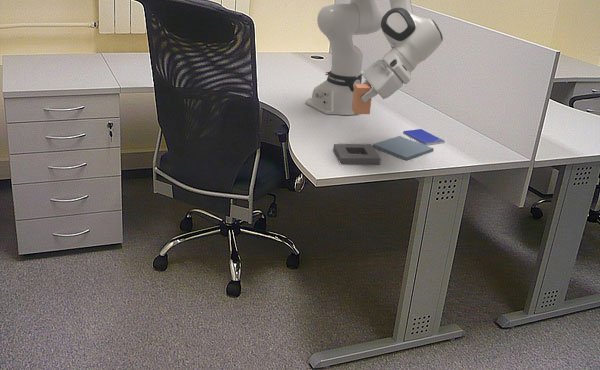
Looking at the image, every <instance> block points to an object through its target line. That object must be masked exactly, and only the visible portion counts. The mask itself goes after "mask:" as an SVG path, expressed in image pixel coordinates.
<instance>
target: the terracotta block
mask: <svg viewBox="0 0 600 370" xmlns="http://www.w3.org/2000/svg"><path fill="white" fill-rule="evenodd" d="M371 88H372V86H370V85H369V84H362V83H361V84H354V92H353V102H352V111H353V112H354V113H355V114H354V115H370V114H371V107H372V98H370V99H369V100H367V101H366V102H364V101H363V100H362V99H361V96H362V95H363V94H364V93H365V94H366V93H367V92H369V91H370V89H371Z"/></svg>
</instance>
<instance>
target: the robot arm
mask: <svg viewBox="0 0 600 370" xmlns="http://www.w3.org/2000/svg"><path fill="white" fill-rule="evenodd" d="M411 1H412V0H389V3H390V9H388V10H387V12H385V14H384V12H383V10H382V8H381V7H380V5H378V3H377V1H376V0H350V3H334V4H330V5H326V6H323V7H322V8H321V9H320V11H319V12H318V14H317V18H316V19H317V20H316V21H317V23H316V24H317V27H318V28H319V30H320V32H321V33H322V34H323V35H324V36H325V37H326V38H327V40H328V42H329V44H330V47H331V48H330V49H331V67H330V68H331V70H330V71H326V72H325V76H327V78H326V80H325V81H323V82H321V83H320V84H318V85H317V86H315V87H314V88H313V91H312V92H311V93H312V95H311V97H310V98H307V99H306V100H304V101H305V102H304V103H305V104H306V105H308V106H310V107H311V108H312V109H313V108H314V109H315V110H317V111H319V112H321V113H323V114H325V115H341V116H353V115H356V114H355V113H354V112H353V111H352V102H353V92H354V84H369V85H370V86H371V87H372V88H371V89H370V91H369V92H367V93H366V94H365V93H364V94H363V95H362V96H361V99H362V100H363V101H364V102H366V101H367V100H369V99H370V98H371V99H372V98H374V97H376V96H377V95H379V96H380V97H381V98H382V100H385V99H388V98H390V97H391V96H393V94H395V93H396V92H397V91H398V90H399V89H401V88H402V87H403V85H407V84H408V83H409V82H410V81H411V80H412V75H411V74H412V72H413V71H414V70H415V69H416V68H417V66H418V65H420V63H422V62H423V61H425V60H427V59H428V58H429V57H430V56H431V55H432V54H433V53H434V52H435V51H436V50H437V49H438V48H439V47H440V46H441V45H442V43H443V39H444V38H443V33H442V31H441V29H440V28H439V26H438V25H437V23H436V22H435V20H433V19H432V18H428V17H427V18H424V17H421V16H418V15H416V14H414V12H413V7H412V2H411ZM380 30H381V31H382V34H383V35H384V37H385V38H386V40H387V42H388V43H389V45H390V47H391V49H390V50H389V51H388V52H387V53H385V54H384V55H383V56H382V57H381V59H378V60H376V61H374V62H373V63H372V64H371V65H369V66H368V67H367V68H366V69H364V70H363V72H362V68H363V67H362V66H363V60H364V59H363V57H364V55H363V52H362V50H361V49H360V48H359V47H357V46H356V45H354V42H353V36H359V35H360V36H361V35H362V36H364V35H370V34H373V33H376V32H378V31H380ZM363 78H364V81H363V82H362V79H363Z"/></svg>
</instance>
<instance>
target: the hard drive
mask: <svg viewBox="0 0 600 370" xmlns="http://www.w3.org/2000/svg"><path fill="white" fill-rule="evenodd" d="M402 134H403V135H404V136H406V137H408V138H410V139H411V138H412V139H411V140H413V139H414V140H413V141H415V140H416V141H415V142H418V143H420V144H423V145H426V146H435V145H442V144H445V140H444V139H442V138H440V137H438V136H436V135H434V134H432V133H430V132H428V131H426V130H424V129H422V128H420V129H419V128H418V129H409V130H404V131H402Z"/></svg>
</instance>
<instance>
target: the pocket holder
mask: <svg viewBox="0 0 600 370" xmlns="http://www.w3.org/2000/svg"><path fill="white" fill-rule="evenodd" d="M332 150H333V152H334V154H335V156H336V157H337V160H338V161H340V162H339V164H340V163H341V164H340V165H380V164H381V157H380V155H379V154H378V152H377V151H376V150H375V148H373V147H372V143H333V149H332Z"/></svg>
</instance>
